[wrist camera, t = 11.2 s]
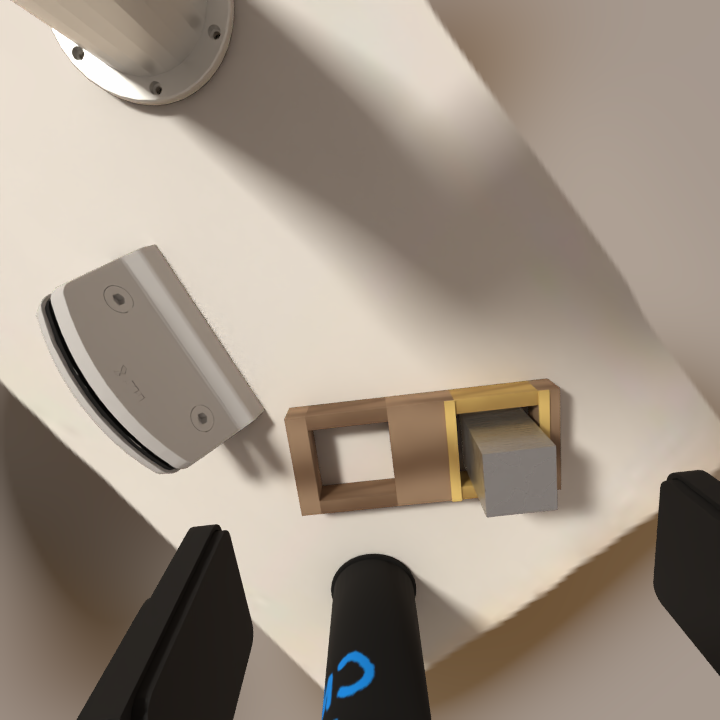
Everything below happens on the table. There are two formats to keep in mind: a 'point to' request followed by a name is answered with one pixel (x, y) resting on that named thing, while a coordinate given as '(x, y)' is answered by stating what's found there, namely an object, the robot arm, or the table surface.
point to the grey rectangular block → (509, 462)
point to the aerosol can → (374, 644)
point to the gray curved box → (145, 362)
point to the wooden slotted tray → (411, 443)
